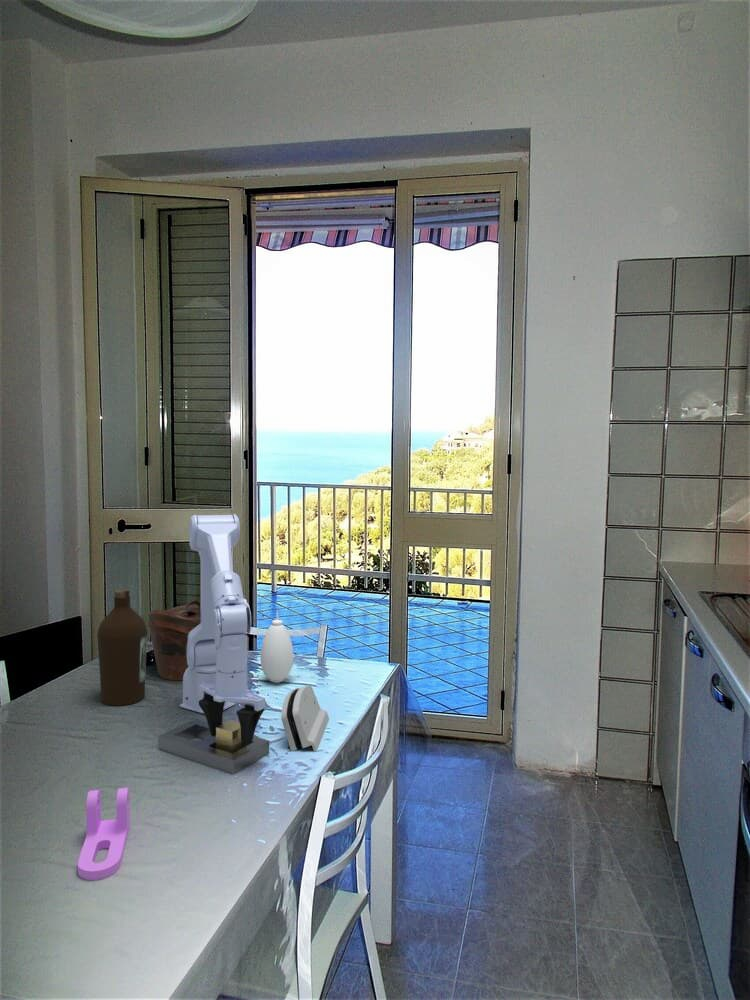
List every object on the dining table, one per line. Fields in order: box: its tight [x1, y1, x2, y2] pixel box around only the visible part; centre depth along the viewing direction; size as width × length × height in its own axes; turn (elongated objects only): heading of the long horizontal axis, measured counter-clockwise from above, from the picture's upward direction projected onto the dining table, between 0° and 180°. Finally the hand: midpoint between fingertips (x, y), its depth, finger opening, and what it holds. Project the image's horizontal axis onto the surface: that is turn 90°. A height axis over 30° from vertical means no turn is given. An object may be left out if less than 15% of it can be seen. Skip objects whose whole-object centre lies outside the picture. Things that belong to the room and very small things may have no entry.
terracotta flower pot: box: [147, 600, 201, 681], centre depth 178 cm, size 18×20×18 cm
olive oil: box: [96, 588, 148, 707], centre depth 158 cm, size 11×11×25 cm
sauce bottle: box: [260, 610, 294, 684], centre depth 171 cm, size 8×8×18 cm
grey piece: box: [280, 685, 330, 753], centre depth 142 cm, size 17×5×10 cm, turn 175°
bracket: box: [77, 787, 131, 881], centre depth 100 cm, size 13×6×7 cm, turn 13°
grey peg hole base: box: [157, 718, 270, 775], centre depth 133 cm, size 19×10×2 cm, turn 60°
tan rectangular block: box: [216, 719, 246, 754], centre depth 131 cm, size 4×4×6 cm
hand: (231, 739), depth 131 cm, fingers open, 7 cm apart
